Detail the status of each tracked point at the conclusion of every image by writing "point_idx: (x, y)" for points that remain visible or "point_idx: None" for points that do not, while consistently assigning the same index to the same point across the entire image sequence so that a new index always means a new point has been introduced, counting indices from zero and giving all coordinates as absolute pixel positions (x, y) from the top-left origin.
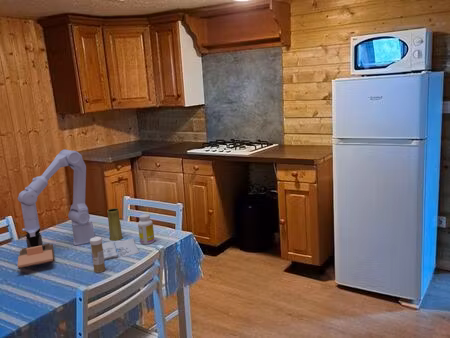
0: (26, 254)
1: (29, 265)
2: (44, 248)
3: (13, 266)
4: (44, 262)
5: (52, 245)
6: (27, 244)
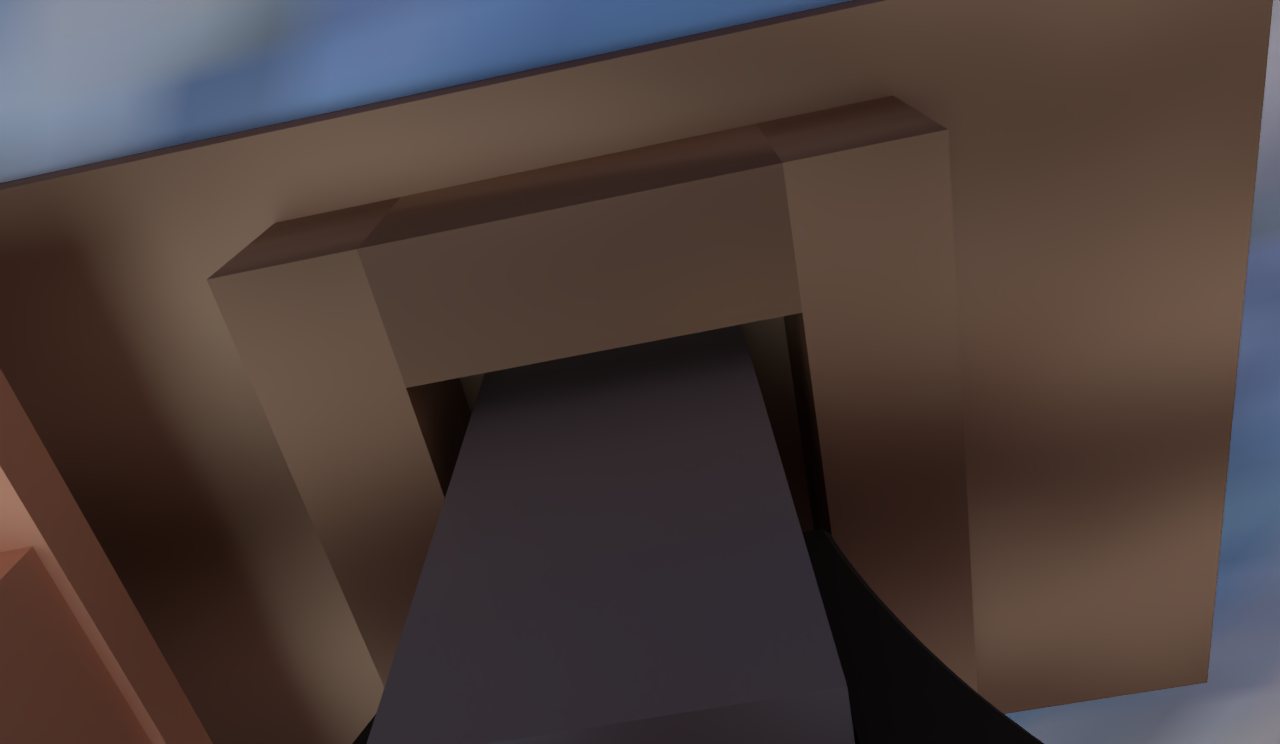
0: (309, 408)
1: (54, 432)
2: None
3: (111, 4)
4: (190, 676)
5: (1117, 688)
6: (414, 614)
